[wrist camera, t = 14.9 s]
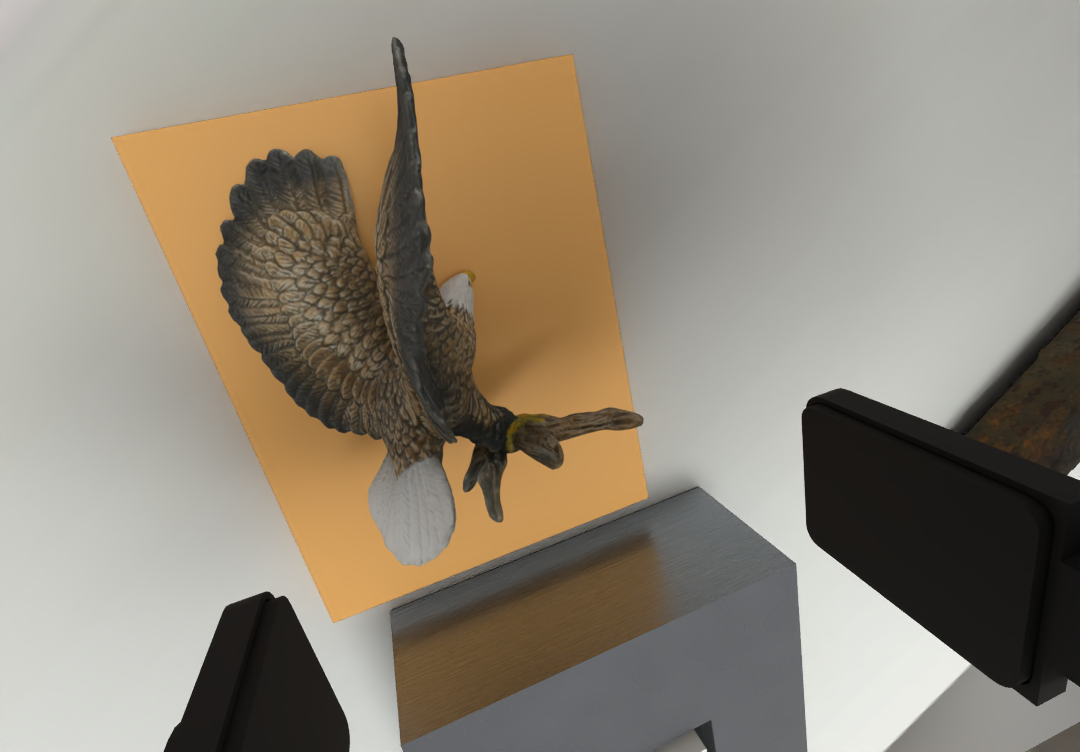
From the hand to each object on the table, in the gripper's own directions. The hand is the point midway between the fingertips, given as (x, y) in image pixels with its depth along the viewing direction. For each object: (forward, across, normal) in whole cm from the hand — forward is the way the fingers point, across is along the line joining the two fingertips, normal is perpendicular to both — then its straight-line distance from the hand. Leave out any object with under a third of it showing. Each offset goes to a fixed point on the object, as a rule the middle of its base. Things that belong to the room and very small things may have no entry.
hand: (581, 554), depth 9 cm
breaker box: (+8, -1, +13) cm, 16 cm away
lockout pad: (+8, +1, -2) cm, 9 cm away
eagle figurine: (+8, +2, -4) cm, 9 cm away
